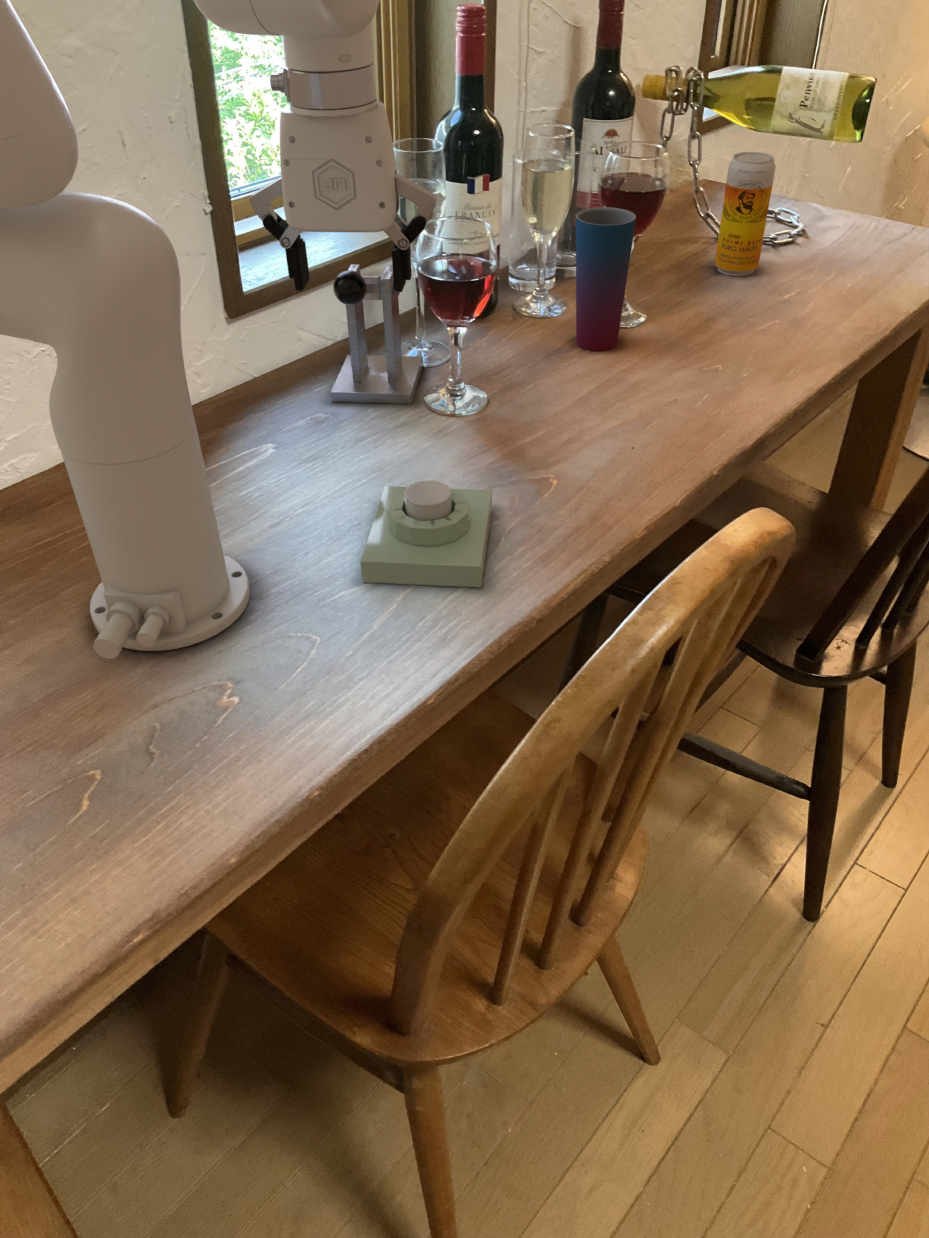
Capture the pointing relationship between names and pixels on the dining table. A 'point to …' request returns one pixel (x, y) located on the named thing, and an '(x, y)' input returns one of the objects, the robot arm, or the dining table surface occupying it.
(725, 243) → the beer can
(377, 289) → the flush lever
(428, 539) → the block
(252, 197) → the robot arm
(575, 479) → the dining table surface
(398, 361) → the lever bracket
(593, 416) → the dining table surface
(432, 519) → the beige push button
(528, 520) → the dining table surface
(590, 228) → the cup
